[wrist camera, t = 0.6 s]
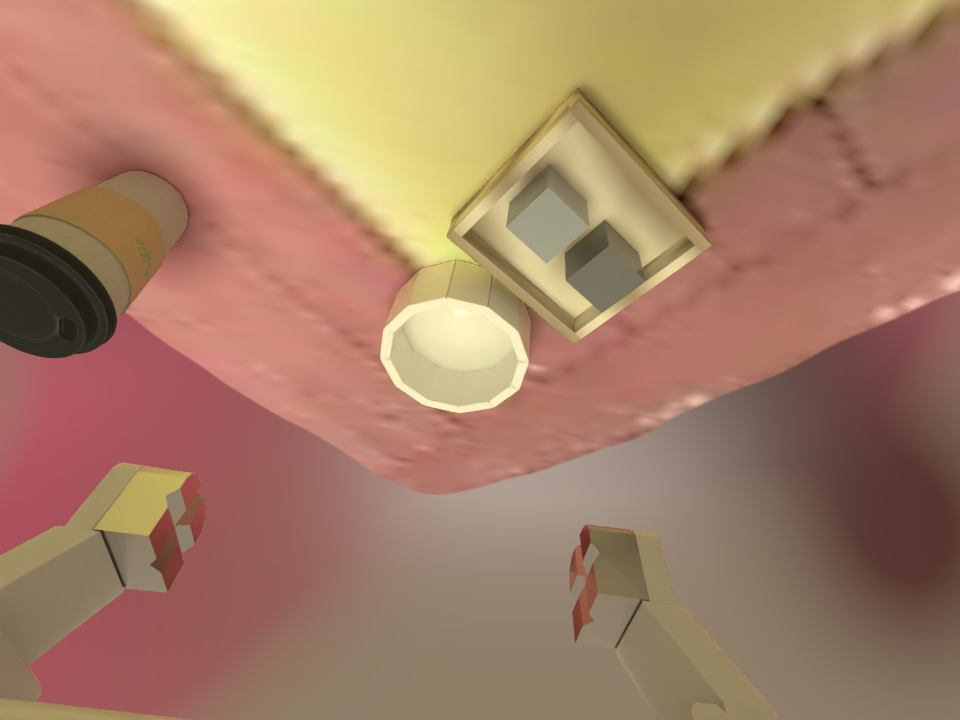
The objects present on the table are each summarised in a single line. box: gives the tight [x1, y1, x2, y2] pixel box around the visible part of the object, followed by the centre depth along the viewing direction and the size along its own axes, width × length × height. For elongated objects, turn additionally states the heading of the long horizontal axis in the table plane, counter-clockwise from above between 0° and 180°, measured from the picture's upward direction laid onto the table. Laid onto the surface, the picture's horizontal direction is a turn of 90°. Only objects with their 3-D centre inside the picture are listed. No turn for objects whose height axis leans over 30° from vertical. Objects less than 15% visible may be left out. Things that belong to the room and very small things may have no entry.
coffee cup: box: [0, 170, 188, 358], centre depth 40 cm, size 9×9×15 cm
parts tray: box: [447, 89, 712, 343], centre depth 41 cm, size 13×14×3 cm
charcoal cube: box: [565, 220, 645, 313], centre depth 41 cm, size 4×4×4 cm
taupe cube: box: [506, 164, 590, 264], centre depth 39 cm, size 4×4×4 cm
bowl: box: [380, 260, 531, 413], centre depth 48 cm, size 12×12×6 cm
